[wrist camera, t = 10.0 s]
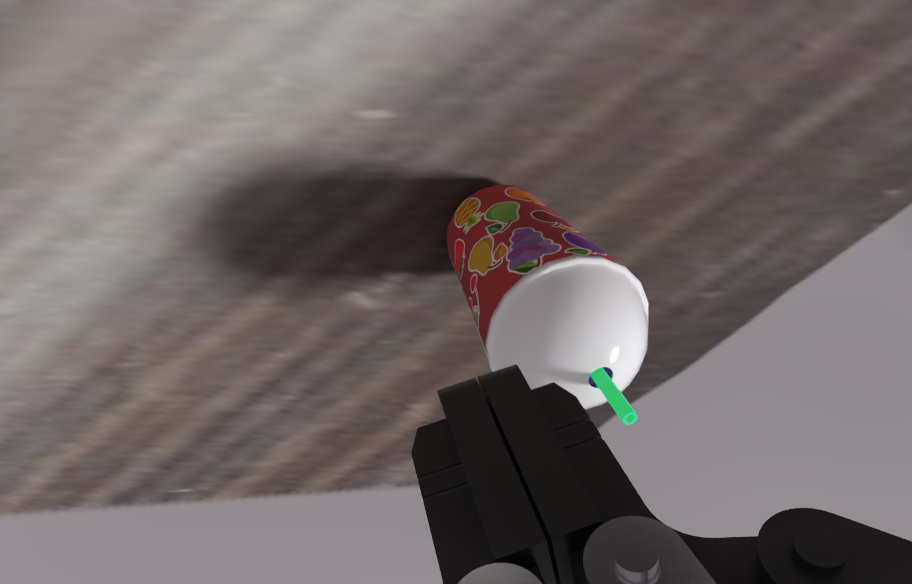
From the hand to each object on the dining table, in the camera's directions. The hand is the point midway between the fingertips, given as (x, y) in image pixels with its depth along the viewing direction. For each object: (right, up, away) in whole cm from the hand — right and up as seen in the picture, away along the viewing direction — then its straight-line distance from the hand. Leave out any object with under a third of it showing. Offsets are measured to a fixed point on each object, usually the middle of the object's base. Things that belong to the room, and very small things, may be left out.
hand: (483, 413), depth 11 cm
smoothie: (+2, +7, +31) cm, 32 cm away
